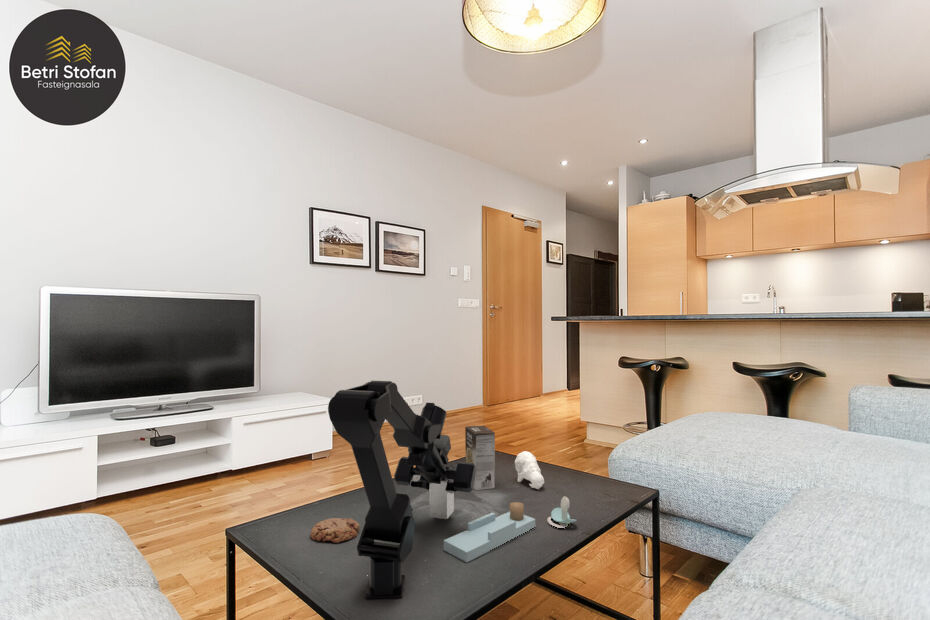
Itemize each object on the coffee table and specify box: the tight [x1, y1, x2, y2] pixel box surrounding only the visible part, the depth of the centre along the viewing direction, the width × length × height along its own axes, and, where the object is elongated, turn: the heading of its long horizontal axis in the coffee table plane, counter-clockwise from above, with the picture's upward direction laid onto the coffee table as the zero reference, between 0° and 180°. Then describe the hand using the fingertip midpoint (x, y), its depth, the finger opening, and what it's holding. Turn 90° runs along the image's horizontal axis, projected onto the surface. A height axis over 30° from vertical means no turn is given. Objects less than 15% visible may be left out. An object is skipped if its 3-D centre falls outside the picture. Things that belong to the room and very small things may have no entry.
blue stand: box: [443, 501, 536, 563], centre depth 102 cm, size 22×7×5 cm, turn 134°
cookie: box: [310, 517, 361, 544], centre depth 105 cm, size 10×11×3 cm
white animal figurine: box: [514, 450, 545, 490], centre depth 136 cm, size 6×8×12 cm
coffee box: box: [464, 425, 496, 491], centre depth 136 cm, size 9×6×16 cm
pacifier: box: [546, 495, 577, 529], centre depth 110 cm, size 7×6×6 cm
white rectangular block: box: [428, 480, 455, 520], centre depth 112 cm, size 6×4×10 cm
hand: (443, 490), depth 113 cm, fingers closed on white rectangular block, 4 cm apart
